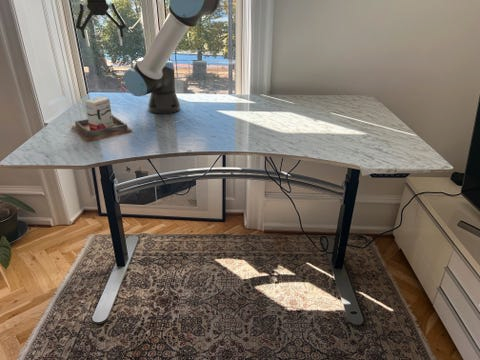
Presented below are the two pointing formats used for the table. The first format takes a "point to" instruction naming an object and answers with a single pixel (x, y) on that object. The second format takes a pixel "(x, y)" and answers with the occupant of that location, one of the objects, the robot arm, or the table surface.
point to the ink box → (99, 113)
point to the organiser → (91, 135)
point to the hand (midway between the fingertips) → (105, 46)
